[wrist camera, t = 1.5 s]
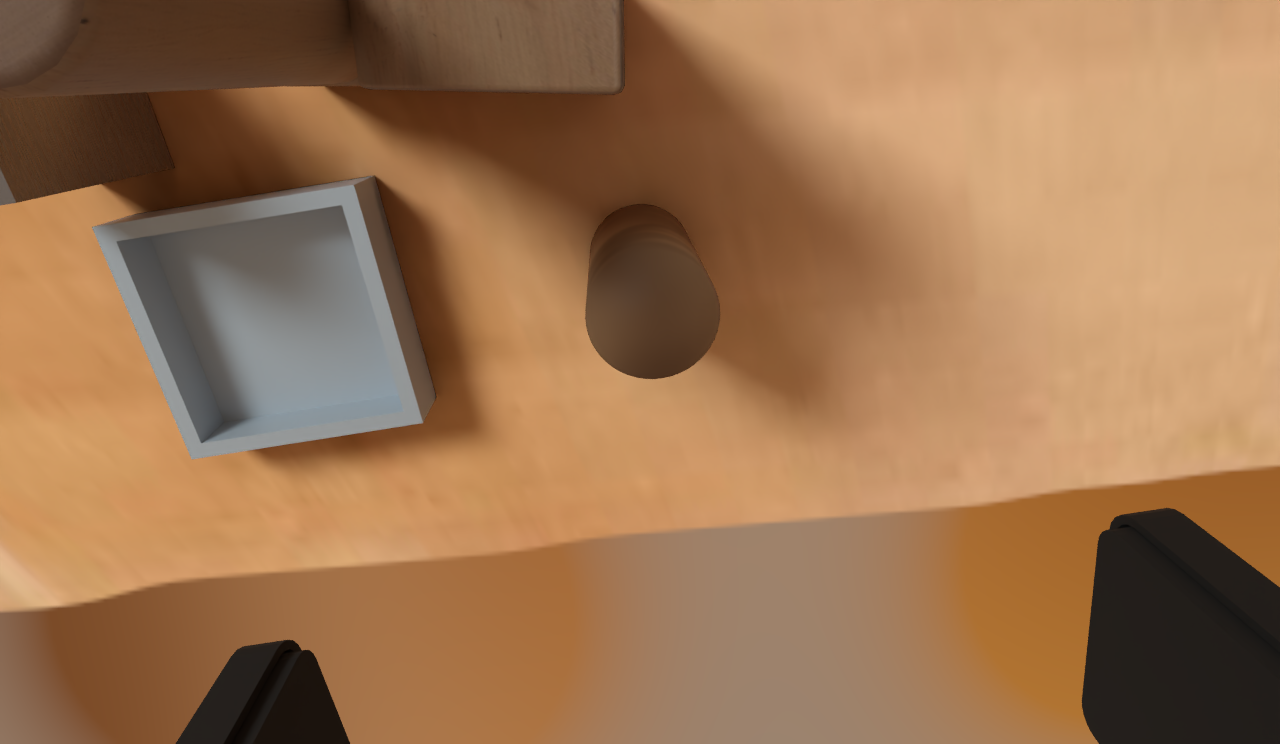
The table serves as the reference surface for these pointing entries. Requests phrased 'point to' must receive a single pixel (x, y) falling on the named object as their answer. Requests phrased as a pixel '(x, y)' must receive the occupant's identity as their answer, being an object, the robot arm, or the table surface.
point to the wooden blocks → (310, 45)
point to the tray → (273, 316)
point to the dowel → (648, 295)
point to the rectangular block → (76, 143)
